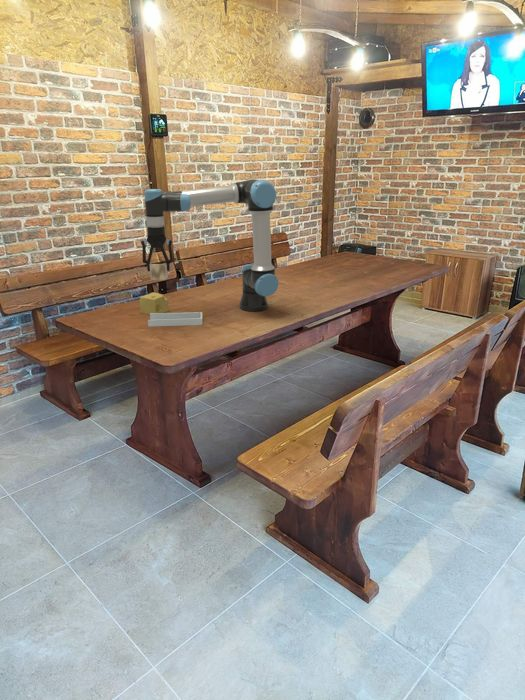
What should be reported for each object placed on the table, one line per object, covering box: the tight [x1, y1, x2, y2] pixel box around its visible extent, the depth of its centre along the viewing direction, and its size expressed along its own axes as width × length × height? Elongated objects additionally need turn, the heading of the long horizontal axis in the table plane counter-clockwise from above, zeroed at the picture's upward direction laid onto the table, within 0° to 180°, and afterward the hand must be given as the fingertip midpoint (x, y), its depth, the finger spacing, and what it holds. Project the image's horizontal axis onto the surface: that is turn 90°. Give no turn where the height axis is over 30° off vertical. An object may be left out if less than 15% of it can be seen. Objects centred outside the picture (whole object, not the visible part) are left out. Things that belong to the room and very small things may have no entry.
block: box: [151, 263, 167, 281], centre depth 222 cm, size 6×6×6 cm
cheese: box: [139, 292, 170, 315], centre depth 246 cm, size 10×11×10 cm
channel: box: [147, 311, 204, 328], centre depth 232 cm, size 25×11×4 cm, turn 97°
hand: (159, 277), depth 223 cm, fingers closed on block, 6 cm apart
